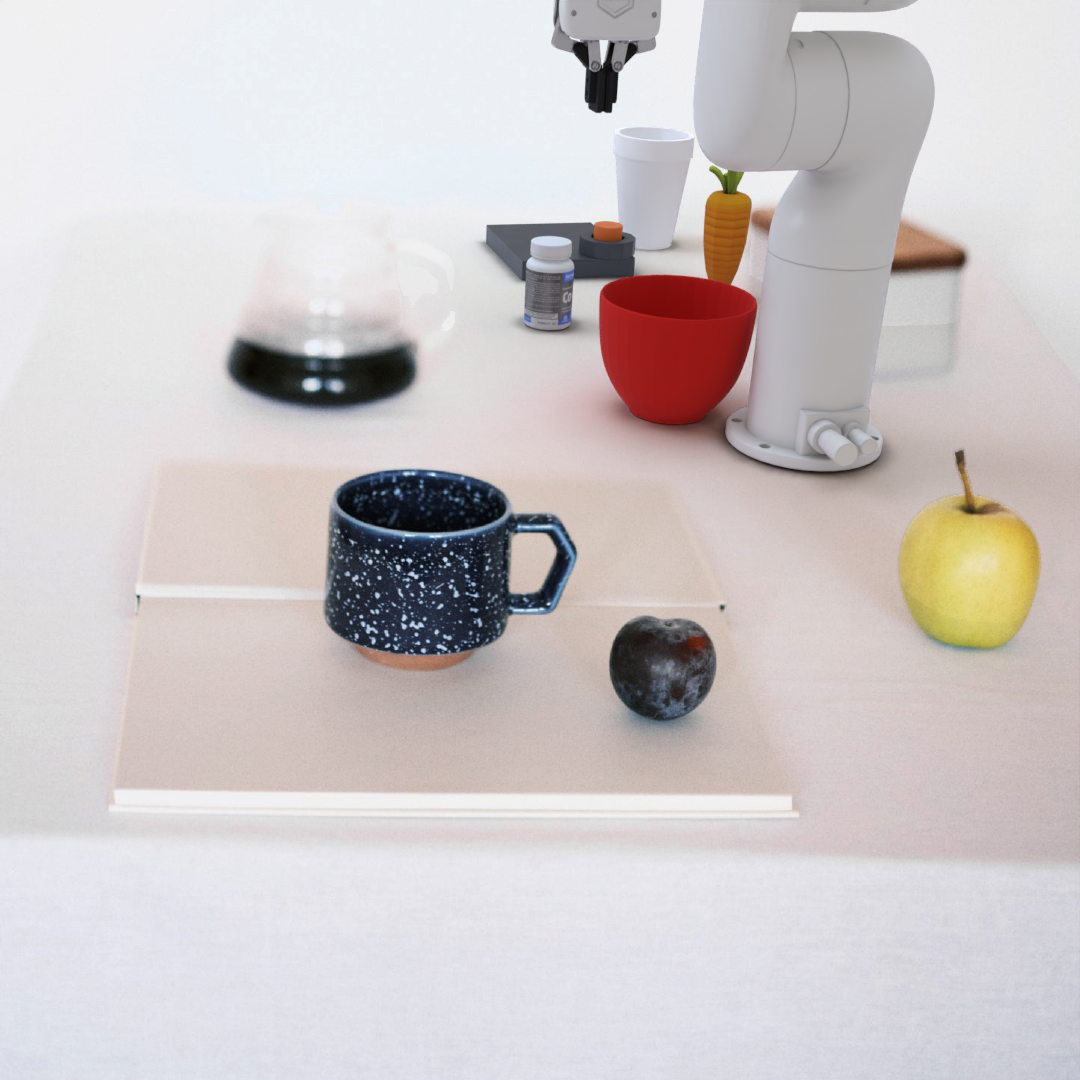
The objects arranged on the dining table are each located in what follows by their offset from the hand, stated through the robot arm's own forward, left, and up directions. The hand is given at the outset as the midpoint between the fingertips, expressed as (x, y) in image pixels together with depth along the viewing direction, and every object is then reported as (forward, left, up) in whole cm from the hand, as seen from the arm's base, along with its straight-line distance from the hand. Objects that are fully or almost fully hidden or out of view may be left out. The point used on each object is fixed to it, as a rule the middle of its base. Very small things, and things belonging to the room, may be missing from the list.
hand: (599, 110), depth 141 cm
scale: (+11, 0, -19) cm, 22 cm away
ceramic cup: (-35, +3, -19) cm, 40 cm away
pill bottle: (-12, +8, -19) cm, 23 cm away
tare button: (+6, -4, -15) cm, 17 cm away
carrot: (-6, -13, -19) cm, 24 cm away
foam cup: (+17, -13, -19) cm, 29 cm away
